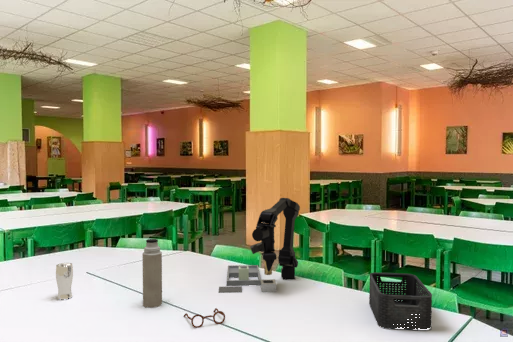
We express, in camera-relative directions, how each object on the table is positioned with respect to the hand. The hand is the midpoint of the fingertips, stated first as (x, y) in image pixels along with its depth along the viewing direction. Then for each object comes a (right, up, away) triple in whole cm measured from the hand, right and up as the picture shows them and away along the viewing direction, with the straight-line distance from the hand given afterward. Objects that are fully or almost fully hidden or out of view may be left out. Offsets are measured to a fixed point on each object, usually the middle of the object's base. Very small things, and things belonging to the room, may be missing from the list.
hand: (268, 270), depth 198 cm
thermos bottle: (-50, -10, -19) cm, 55 cm away
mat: (-18, -9, 0) cm, 20 cm away
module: (-12, -9, +14) cm, 20 cm away
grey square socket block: (0, -9, 0) cm, 9 cm away
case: (-13, -9, +21) cm, 26 cm away
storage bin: (+51, -11, -32) cm, 61 cm away
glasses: (-26, -11, -36) cm, 46 cm away
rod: (0, -2, 0) cm, 2 cm away
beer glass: (-92, -10, -11) cm, 93 cm away
